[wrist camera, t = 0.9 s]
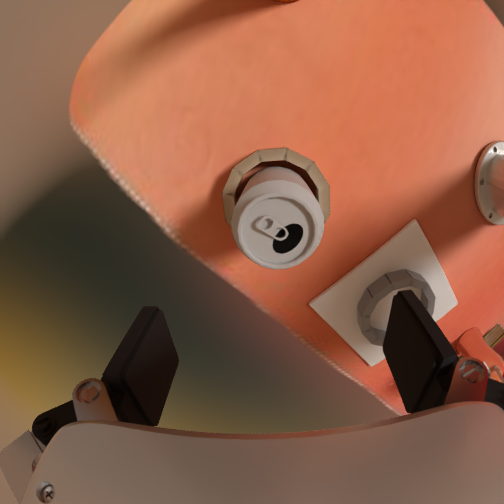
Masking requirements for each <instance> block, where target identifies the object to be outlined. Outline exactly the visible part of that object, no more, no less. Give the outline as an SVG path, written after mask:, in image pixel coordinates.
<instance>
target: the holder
mask: <svg viewBox="0 0 504 504" xmlns="http://www.w3.org/2000/svg"><path fill="white" fill-rule="evenodd" d="M403 290H412V291H413V292H414V293H415V295H416V296H417V297H418V299H419V300H420V301H421V303H422V304H423V305H424V307H425V308H426V310H427V311H428V312H429V314H430V315H431V317H432V318H433V319H434V321H435V322H436V321H438V320H439V319H440V318H441V317H442V316H444V315H445V314H446V313H447V312H449V311H450V310H451V309H452V308H453V307H454V306H456V305H457V304H458V302H457V300H456V298H455V295H454V293H453V291H452V288H451V286H450V284H449V282H448V280H447V278H446V275H445V273H444V271H443V269H442V267H441V265H440V263H439V261H438V259H437V257H436V255H435V253H434V251H433V250H432V248H431V246H430V244H429V242H428V240H427V238H426V237H425V235H424V233H423V231H422V230H421V228H420V226H419V224H418V223H417V221H416V220H415V219H413V220H412V221H411V222H409V223H408V224H407V225H406V226H405V227H404V228H402V229H401V230H400V231H399V232H398V233H397V234H395V235H394V236H393V237H392V238H391V239H389V240H388V241H387V242H386V243H385V244H383V245H382V246H381V247H380V248H379V249H377V250H376V251H375V252H374V253H372V254H371V255H370V256H369V257H367V258H366V259H365V260H364V261H362V262H361V263H360V264H359V265H357V266H356V267H355V268H354V269H352V270H351V271H350V272H348V273H347V274H346V275H345V276H343V277H342V278H341V279H339V280H338V281H337V282H335V283H334V284H333V285H331V286H330V287H329V288H327V289H326V290H325V291H323V292H322V293H321V294H319V295H318V296H316V297H315V298H314V299H312V300H311V301H310V302H309V305H310V306H311V307H312V308H313V309H314V310H315V311H316V312H317V313H318V314H319V315H320V316H321V317H322V318H323V319H324V320H325V321H326V322H327V323H328V324H329V325H330V326H331V327H332V328H333V329H334V330H335V331H336V332H337V333H338V334H339V335H340V336H341V337H342V338H343V339H344V340H345V341H346V342H347V343H348V344H349V345H350V346H351V347H352V348H353V349H354V350H355V351H356V352H357V353H358V354H359V355H360V356H361V357H362V358H363V359H364V360H365V361H366V362H367V363H368V364H369V365H370V366H371V367H372V366H374V365H375V364H377V363H379V362H380V361H382V360H383V359H385V355H384V353H383V342H384V338H385V333H386V329H387V324H388V320H389V315H390V310H391V305H392V300H393V296H394V295H396V294H397V292H398V291H403Z"/></svg>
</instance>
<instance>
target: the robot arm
mask: <svg viewBox="0 0 504 504" xmlns="http://www.w3.org/2000/svg"><path fill="white" fill-rule="evenodd" d="M474 187H475V197H476V202H477V205H478V208H479V210H480V212H481V214H482V215H483V217H484V218H485V219H486V220H488V221H489V222H491V223H493V224H495V225H503V224H504V141H494V142H492V143H490V144H489V145H488V146H487V147H486V148H485V149H484V151H483V152H482V154H481V156H480V158H479V161H478V164H477V167H476V172H475V181H474ZM383 353H384V355H385V358H386V360H387V363H388V365H389V367H390V370H391V372H392V375H393V377H394V380H395V382H396V385H397V388H398V390H399V393H400V395H401V398H402V401H403V403H404V406H405V409H406V411H407V413H411V414H408V415H404V416H399V417H395V418H390V419H386V420H381V421H377V422H372V423H366V424H361V425H355V426H349V427H342V428H334V429H326V430H318V431H307V432H294V433H277V434H276V433H273V434H228V433H227V434H226V433H208V432H195V431H185V430H176V429H167V428H159V427H154V426H157V425H158V423H159V420H160V417H161V414H162V411H163V408H164V405H165V402H166V399H167V396H168V393H169V390H170V387H171V384H172V381H173V378H174V375H175V372H176V369H177V366H178V362H179V360H178V355H177V352H176V350H175V346H174V344H173V341H172V338H171V335H170V332H169V329H168V326H167V323H166V320H165V317H164V314H163V311H162V310H159V308H158V307H156V306H145V307H143V308H142V310H141V311H140V313H139V314H138V316H137V317H136V319H135V321H134V322H133V324H132V325H131V327H130V329H129V330H128V332H127V334H126V335H125V337H124V339H123V340H122V342H121V344H120V345H119V347H118V349H117V350H116V352H115V354H114V355H113V357H112V359H111V360H110V362H109V364H108V366H107V367H106V369H105V371H104V373H103V377H102V378H101V380H99V379H96V378H89V379H85V380H83V381H81V382H80V383H79V384H77V385H76V387H75V388H74V390H73V393H72V399H73V400H71V401H69V402H67V403H64V404H62V405H60V406H58V407H55V408H53V409H51V410H49V411H46V412H44V413H42V414H40V415H39V416H38V417H37V418H36V419H35V420H34V422H33V426H32V432H30V431H29V430H28V431H26V432H25V433H24V434H22V435H21V436H20V437H18V438H17V439H16V440H14V441H13V442H12V443H11V444H9V445H8V446H7V447H5V448H4V449H3V450H2V451H1V453H0V467H1V469H2V471H3V473H4V475H5V477H6V480H7V482H8V483H9V485H10V487H11V489H12V491H13V493H14V495H15V497H16V498H17V500H18V502H19V504H504V383H502V382H499V381H496V380H493V379H491V378H488V370H487V367H486V366H485V364H484V363H483V362H482V361H480V360H479V359H476V358H473V357H465V358H463V359H461V360H459V358H458V356H457V354H456V352H455V350H454V349H453V347H452V346H451V344H450V343H449V341H448V340H447V338H446V337H445V335H444V334H443V332H442V331H441V329H440V328H439V327H438V325H437V324H436V322H435V321H434V319H433V318H432V317H431V315H430V314H429V312H428V311H427V310H426V308H425V307H424V305H423V304H422V303H421V301H420V300H419V299H418V297H417V296H416V295H415V293H414V292H413V291H412V290H403V291H398V292H397V294H396V295H394V296H393V300H392V305H391V310H390V315H389V320H388V324H387V329H386V333H385V338H384V342H383Z"/></svg>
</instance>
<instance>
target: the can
mask: <svg viewBox="0 0 504 504" xmlns="http://www.w3.org/2000/svg"><path fill="white" fill-rule="evenodd" d="M231 226H232V234H233V238H234V240H235V242H236V244H237V246H238V248H239V249H240V250H241V251H242V252H243V253H244V255H245V256H246V257H247V258H248V259H250V260H251V261H253V262H255V263H256V264H258V265H260V266H262V267H265V268H270V269H274V270H275V269H288V268H290V267H293V266H296V265H299V264H300V263H301V262H303V261H304V260H305V259H307V258H308V257H309V256H310V255H312V253H313V252H314V251H315V249H316V248H317V247H318V245H319V244H320V241H321V238H322V235H323V232H324V216H323V213H322V210H321V208H320V205H319V203H318V201H317V199H316V198H315V196H314V195H313V193H312V192H311V190H310V188H309V187H308V185H307V184H306V182H305V181H304V180H303V179H302V178H301V176H300V175H299V174H297V173H296V172H294V171H293V170H291V169H289V168H285V167H281V166H275V167H267V168H265V169H262V170H260V171H258V172H257V173H256V174H255V175H253V176H252V177H251V178H250V180H249V181H248V183H247V185H246V186H245V188H244V190H243V192H242V194H241V196H240V198H239V200H238V202H237V204H236V206H235V208H234V211H233V216H232V221H231Z"/></svg>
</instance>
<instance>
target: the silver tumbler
mask: <svg viewBox="0 0 504 504" xmlns="http://www.w3.org/2000/svg"><path fill="white" fill-rule="evenodd" d="M456 350H457V351H458V353H459V354H460V355H461V356H462V357H463V358H465V357H473V358H476V359H479V360H480V361H482V362H483V363H484V364H485V366H486V367H487V370H488V378H491V379H493V380H496V381H499V382H502V383H504V359H503V358H502V357H501V356H500V355H499V354H498V353H497V352H496V351H495V350H494V349H493V348H491V347H490V346H489V345H488V344H487V342H486V341H485V340H484V338H483V336H482V333H481V331H480V330H479V329H478V328H476V327H475V328H471V329H469V330H468V331H466V332H465V333H464V334H463V335H462V336H461V337H460V339H459V340H458V342H457V345H456Z"/></svg>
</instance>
